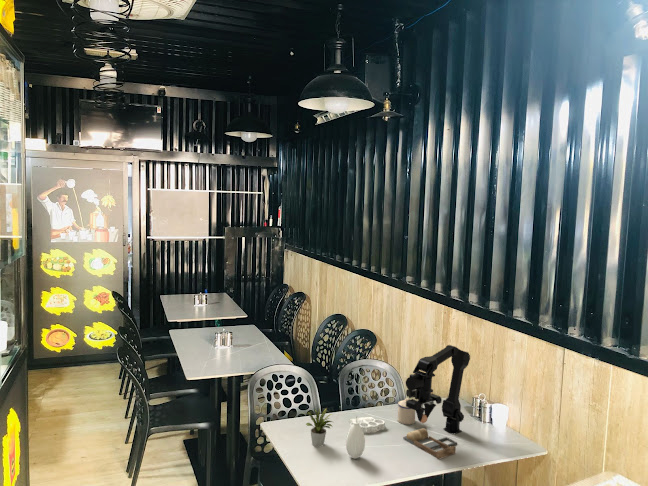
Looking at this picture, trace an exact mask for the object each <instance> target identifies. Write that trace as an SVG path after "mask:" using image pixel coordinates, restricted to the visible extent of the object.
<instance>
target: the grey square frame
mask: <svg viewBox="0 0 648 486" xmlns="http://www.w3.org/2000/svg"><path fill="white" fill-rule="evenodd" d="M437 440H438V441H440V442H442V443H444V444H446V445H448V446H450V447H451V446H455V445H458V442H457V441H455V440H453V439H451V438H449V437H447V436H445V437H443V438H438V439H437ZM445 441H448V442H450V443H449V444H447V443H445Z"/></svg>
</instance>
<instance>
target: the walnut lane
mask: <svg viewBox="0 0 648 486" xmlns="http://www.w3.org/2000/svg"><path fill="white" fill-rule="evenodd" d="M428 439H430V440H432V441H434V442H436V443H438V444H440V447H439V448H441V449H440V450H437V451H435V450H434V449H430V448H428V447H427V446H425V445H423V444H421V443H419V442H417V441H416V440H415V441H414V446H415V447H417V448H418V449H420V448H419V447H420V446H421V447H422V449H425V450H423V451H424V452H426V453H427V454H430V455H431V456H433V457H434V458H436V459H437V460H440V459H444V458H447V457H449V456H453V455H455V454H456V449H457V448H456V446H455V445H453V446H448V444H447V443H445V442H443V441H441V442H440V441H438V439H436V438H434V437H432V436H431V435H428ZM442 442H443V443H442ZM444 443H445V444H444ZM416 444H417V445H419V447H418V446H416ZM446 444H447V445H446ZM422 449H421V450H422Z"/></svg>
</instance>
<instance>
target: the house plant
mask: <svg viewBox="0 0 648 486" xmlns="http://www.w3.org/2000/svg"><path fill="white" fill-rule="evenodd" d="M327 409H328V408H327V407H326V408H325V409H324V410H323V411H322V412H321V414H320V410H321V408H319V409H318V411H317V410H316V409H315V410H314V411H315V414H312V413H313V411H312V410H310V412H309V411H308V412H307V413H305V412H303V413H302V414H303V415H304V414H305V415H308V416H309V417H310V419H311V421H312V422H313V424H314V425H313V424H312V423H310V422H307V423H305V425H306V427H312V428H310V437H311V445H312V446H314V447H315V448H317V447H319V448H320V447H323V446H324V443H325V439H326V435H327V430H326V429H331V427H333V425H332V424H330V423H333V421H332V420H329V419H330V418H329V417H330V416H331V415H333V413H331V414H330V413H329V415H327V416H326V417H325V415H326V413H327V411H328V410H327Z"/></svg>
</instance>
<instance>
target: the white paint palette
mask: <svg viewBox="0 0 648 486" xmlns="http://www.w3.org/2000/svg"><path fill="white" fill-rule="evenodd" d="M354 422H356V418H350V419H348V423H349V429H350V428H351V426H352V425H353V423H354ZM357 422H359V423H360V424H359V425H360V426H361V428H362V430H363V433H364V434H369V433H376V432H378V431H384V430H386V429H385V424H386V422H385V420H383V419H380V418H379V419H377V418H374V417H372V416H367V417H366V416H364V417H357Z"/></svg>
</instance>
